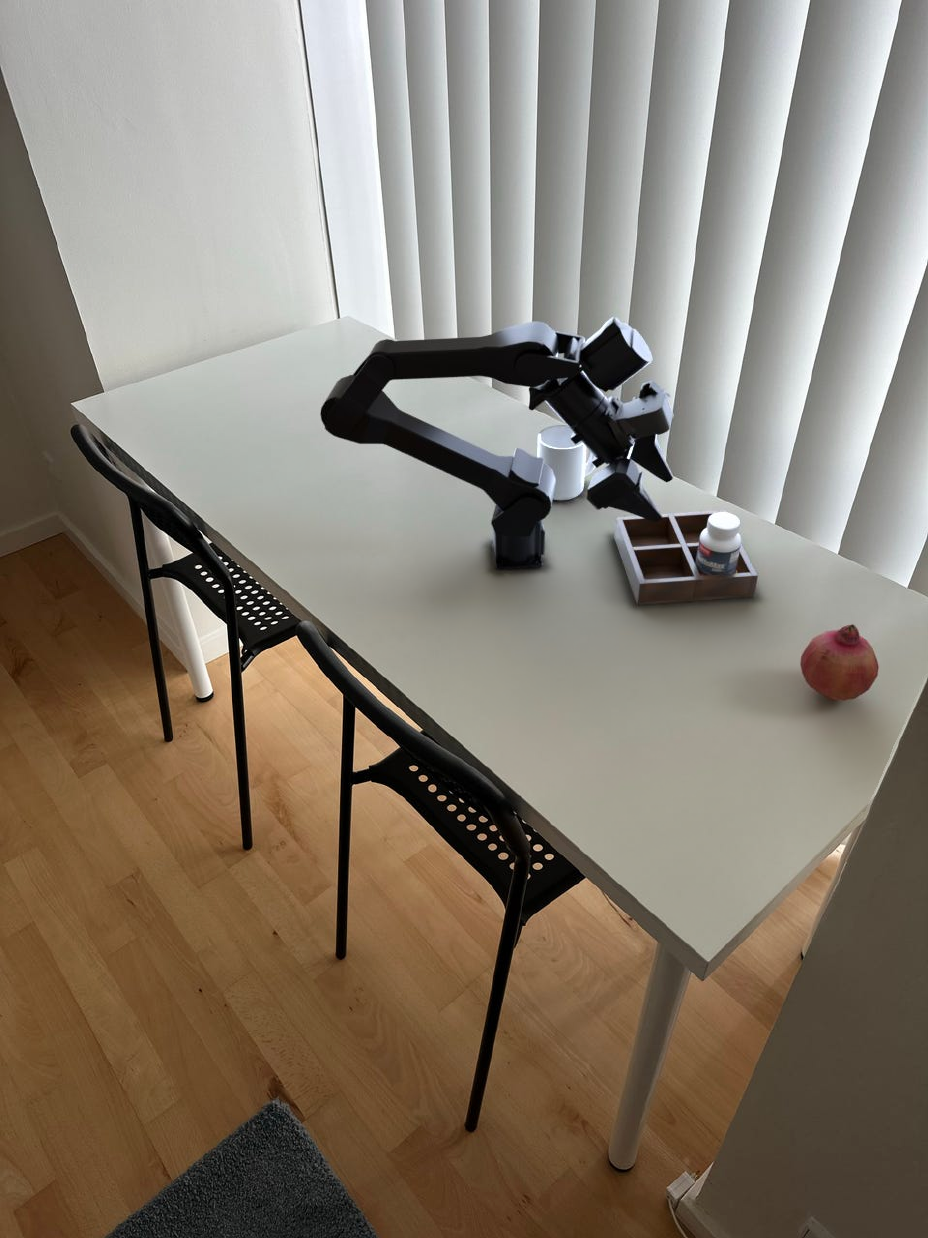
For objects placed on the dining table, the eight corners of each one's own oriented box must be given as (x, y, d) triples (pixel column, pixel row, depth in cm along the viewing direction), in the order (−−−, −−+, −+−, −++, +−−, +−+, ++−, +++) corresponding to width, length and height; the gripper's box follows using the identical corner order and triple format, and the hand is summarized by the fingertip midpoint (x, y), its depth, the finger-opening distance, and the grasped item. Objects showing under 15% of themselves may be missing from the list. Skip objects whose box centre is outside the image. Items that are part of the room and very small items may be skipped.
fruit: (787, 668, 113) (804, 603, 107) (856, 668, 113) (876, 603, 106) (803, 717, 107) (822, 651, 101) (876, 717, 107) (899, 651, 100)
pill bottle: (686, 577, 126) (695, 522, 121) (705, 559, 129) (714, 504, 124) (722, 592, 124) (733, 536, 118) (741, 573, 127) (752, 517, 121)
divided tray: (637, 605, 123) (639, 583, 121) (614, 537, 135) (615, 517, 133) (753, 596, 124) (758, 575, 122) (720, 530, 136) (724, 509, 133)
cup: (528, 483, 147) (529, 431, 141) (585, 468, 150) (588, 417, 144) (550, 505, 142) (552, 453, 136) (608, 489, 145) (612, 437, 139)
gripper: (623, 413, 105) (708, 511, 110) (650, 340, 118) (725, 430, 123) (550, 463, 112) (633, 553, 117) (583, 388, 125) (657, 472, 130)
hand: (665, 499), depth 121 cm, fingers open, 9 cm apart
